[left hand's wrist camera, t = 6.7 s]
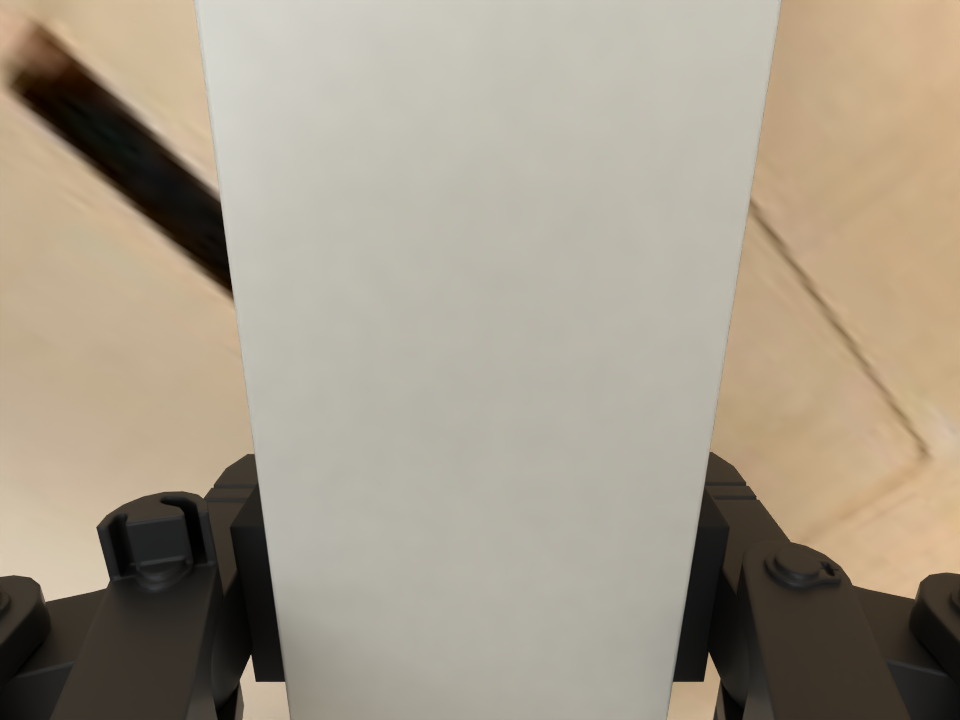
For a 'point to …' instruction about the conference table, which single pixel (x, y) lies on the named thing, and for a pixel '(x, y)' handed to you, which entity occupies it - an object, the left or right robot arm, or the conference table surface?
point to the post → (483, 333)
